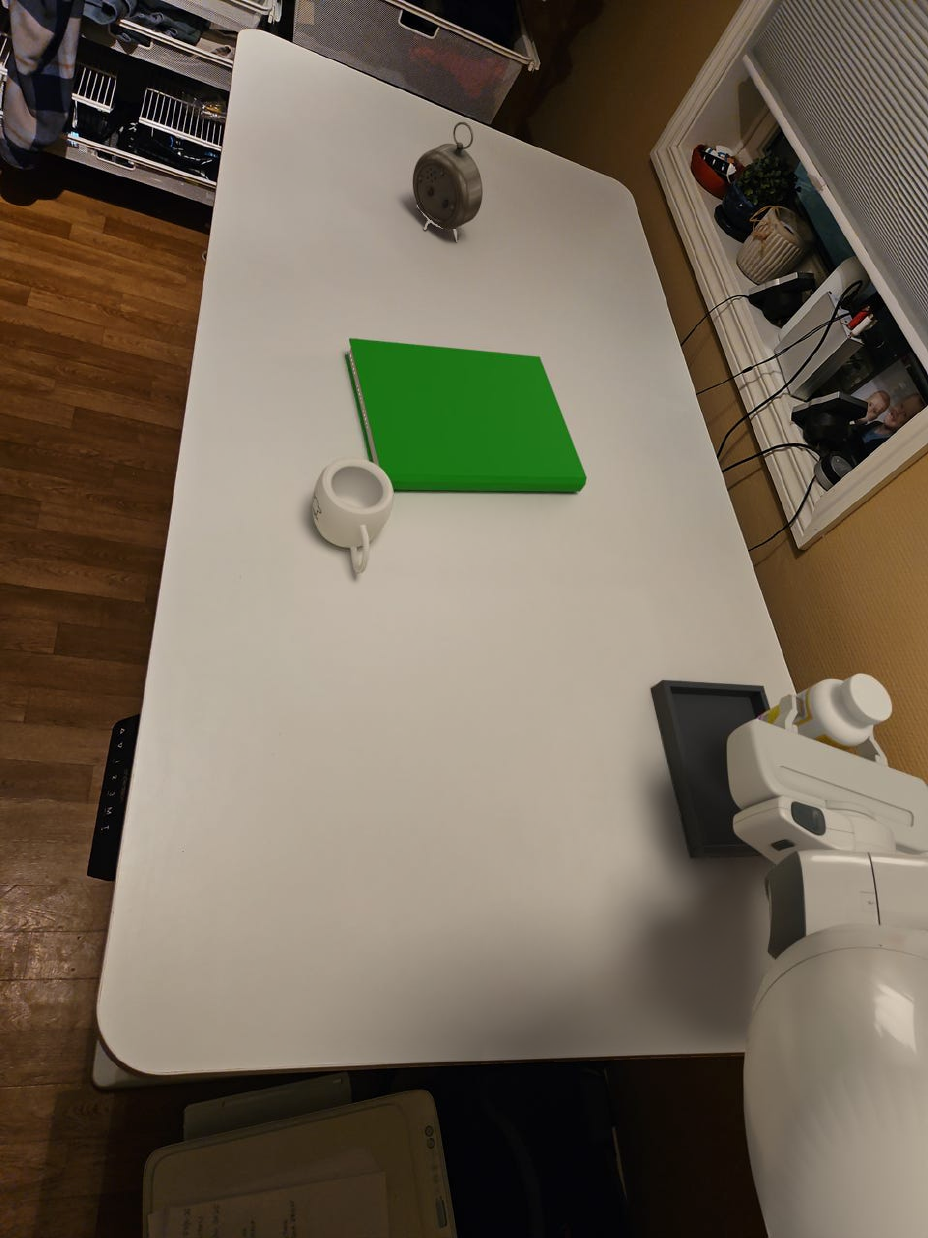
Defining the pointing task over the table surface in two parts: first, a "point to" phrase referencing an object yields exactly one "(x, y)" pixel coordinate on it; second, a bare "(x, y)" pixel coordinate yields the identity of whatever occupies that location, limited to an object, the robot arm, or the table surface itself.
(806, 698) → the supplement bottle
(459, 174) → the alarm clock
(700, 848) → the tray
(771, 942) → the robot arm
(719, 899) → the table surface
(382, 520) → the mug
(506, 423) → the book
